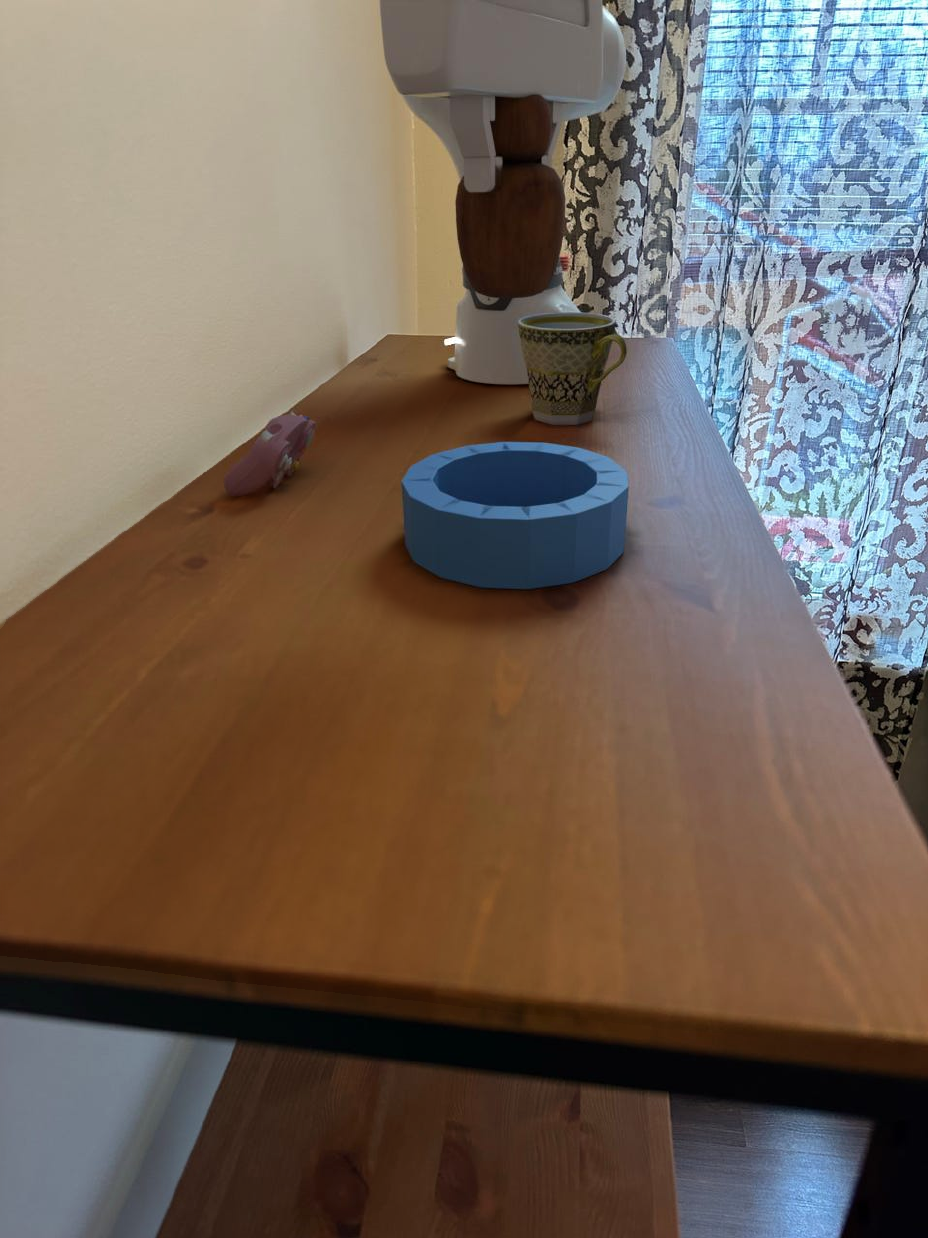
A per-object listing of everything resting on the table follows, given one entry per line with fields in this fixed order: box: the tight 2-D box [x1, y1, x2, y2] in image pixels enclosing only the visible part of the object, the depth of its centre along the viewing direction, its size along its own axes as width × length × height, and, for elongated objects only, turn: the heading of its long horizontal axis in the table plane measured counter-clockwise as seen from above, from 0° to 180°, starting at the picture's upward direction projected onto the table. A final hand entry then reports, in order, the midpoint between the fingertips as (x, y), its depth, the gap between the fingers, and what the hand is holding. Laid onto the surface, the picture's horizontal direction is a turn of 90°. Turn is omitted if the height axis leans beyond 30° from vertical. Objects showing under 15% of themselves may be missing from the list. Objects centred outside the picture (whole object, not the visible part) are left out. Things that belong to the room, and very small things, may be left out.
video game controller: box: [223, 411, 317, 497], centre depth 73 cm, size 10×5×7 cm, turn 168°
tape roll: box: [400, 441, 630, 590], centre depth 61 cm, size 16×16×5 cm
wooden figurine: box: [454, 94, 567, 298], centre depth 50 cm, size 7×6×15 cm
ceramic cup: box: [518, 311, 628, 426], centre depth 87 cm, size 13×10×10 cm
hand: (509, 189), depth 51 cm, fingers closed on wooden figurine, 5 cm apart
